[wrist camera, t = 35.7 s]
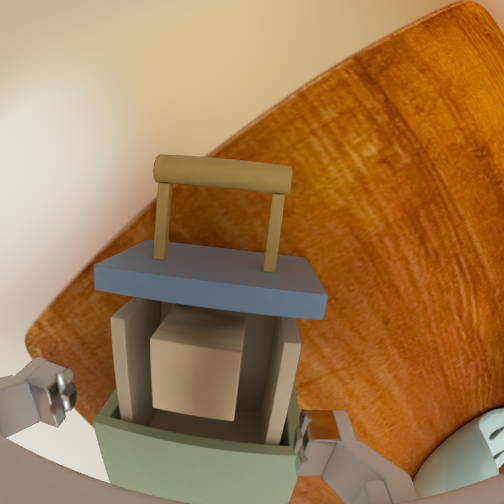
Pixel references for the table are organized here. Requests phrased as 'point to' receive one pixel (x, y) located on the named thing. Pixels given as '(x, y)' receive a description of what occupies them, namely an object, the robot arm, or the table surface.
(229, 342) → the block
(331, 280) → the table surface
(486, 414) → the planter
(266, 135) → the table surface
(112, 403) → the cabinet
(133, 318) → the drawer
